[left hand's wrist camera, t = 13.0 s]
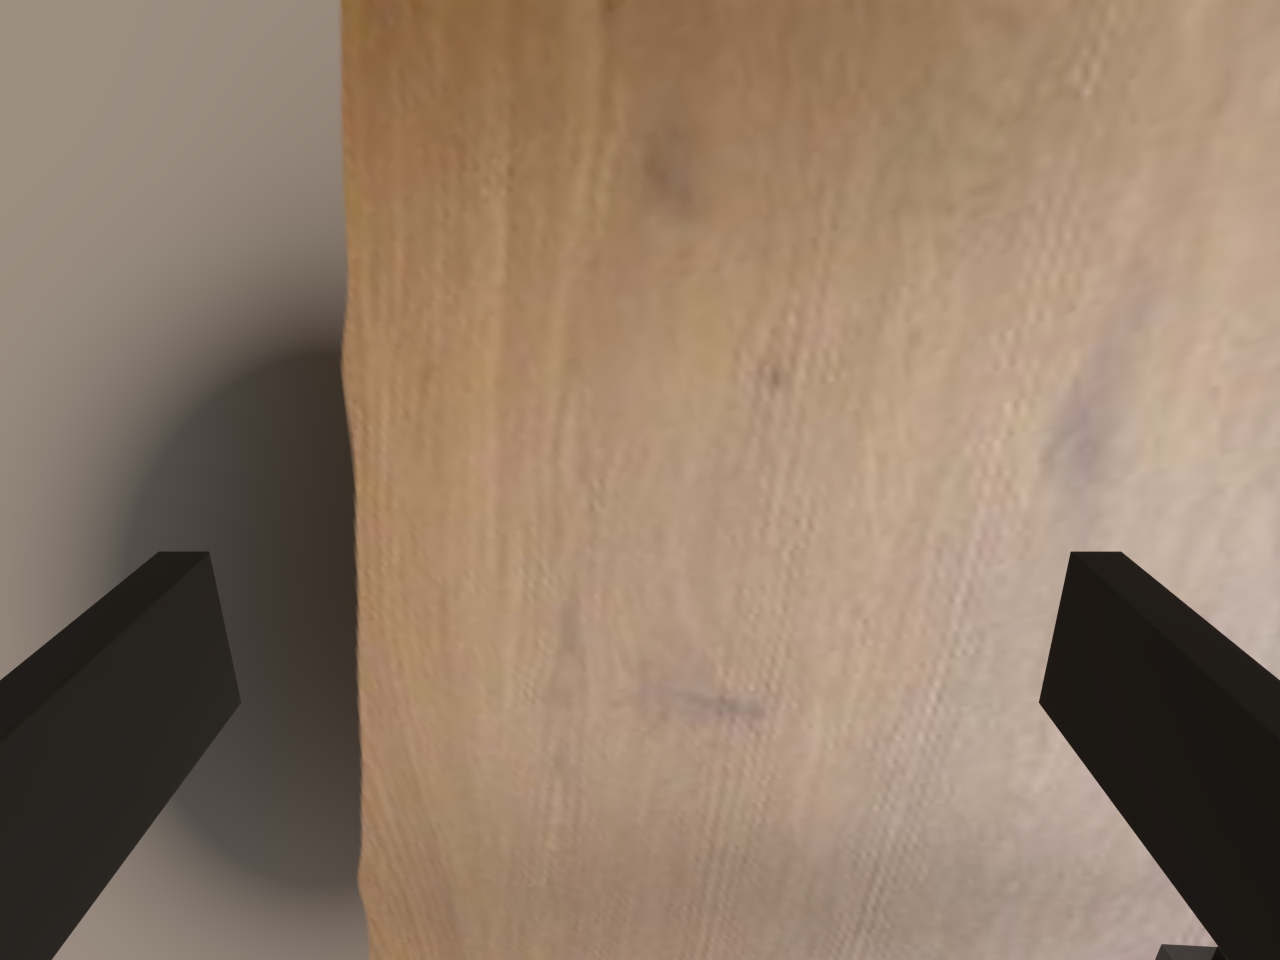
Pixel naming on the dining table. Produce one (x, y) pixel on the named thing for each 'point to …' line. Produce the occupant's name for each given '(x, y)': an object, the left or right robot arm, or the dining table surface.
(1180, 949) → the bar
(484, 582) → the dining table surface
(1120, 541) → the dining table surface
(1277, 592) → the dining table surface
